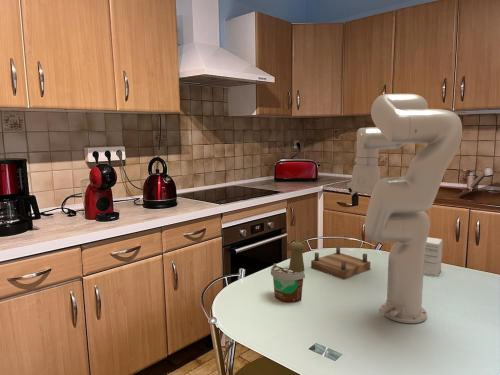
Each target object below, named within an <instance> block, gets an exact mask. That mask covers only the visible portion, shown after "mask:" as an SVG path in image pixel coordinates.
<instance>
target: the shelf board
mask: <svg viewBox="0 0 500 375" xmlns="http://www.w3.org/2000/svg"><path fill="white" fill-rule="evenodd" d="M335 249H336V250H335V252H333V253H331V254H328V255H325V256H321V257H320V252H314V259H311V261H310V264H311V265H310V267H311V269H313V270H316V271H319V272H322V273H325V274H327V275H330V276H333V277H336V278H338V279H341V280H346V279H349V278H351V277H354V276H357V275H360V274H362V273H365V272H367V271H369V270H371V261H369V260H368V253H363V254H362V258H360V257H359V258H358V257H356V256H355V257H354V256H352V255H348V254H346V253H345V254H344V253H342V252H341V246H340V245H336V248H335Z"/></svg>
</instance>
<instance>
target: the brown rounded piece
mask: <svg viewBox="0 0 500 375" xmlns="http://www.w3.org/2000/svg"><path fill="white" fill-rule="evenodd" d="M289 250H290V251H291V253H290V259H289V267H288V269H291V270H293V271H295V272H302V271H304V272H305V263H304V262H305V261H304V255H303V251H304V244H303V243H302V242H301V241H292V242H291V243H290V244H289Z"/></svg>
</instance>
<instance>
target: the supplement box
mask: <svg viewBox="0 0 500 375" xmlns="http://www.w3.org/2000/svg"><path fill="white" fill-rule="evenodd" d="M443 242H444V241H443V239H442V238H437V237H436V238H435V237H430V236H428V237H427V241H426V246H425V255H424V271H423V276H424V275H425V276H430V277H435V278H437V277H439V275H440V273H441V271H442V260H443V259H442V256H443Z"/></svg>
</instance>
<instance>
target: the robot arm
mask: <svg viewBox="0 0 500 375" xmlns="http://www.w3.org/2000/svg"><path fill="white" fill-rule="evenodd" d="M370 112H371V113H370V114H371V115H370V116H371V119H372V121H373V123H374V125H375V126H374V127H373V126H369V127H360V128H359V129H357V131H356V132H357V133H356V157H355V158H354V162H355V163H356V164H354V165H353V170H352V173H351V174H352V175H351V181H348V182H347V183H346V187H347V190H348V192H349V196H351V207H357V206H359V198H360V197H359V194H365V195H371V196H370V199H369V202H368V206H367V210H366V215H365V220H364V234H365V235H366V237H367V239H368V240H370V241H371V242H375V243H393V245H392V246H391V248H390V251H389V254H388V263H387V264H388V265H387V287H386V289H387V293H386V300H385V302H384V303H383V304H381V306H380V309H379V310H378V311H379V314H380V316H384V317H386V318H388V319H389V320H391V321H395V322H398V323H403V324H420V323H423V322H424V321H426V320H427V318H428V312H427V310H426V309H425V308H424V307H422V304H423V287H424V286H423V285H424V274H423V271H424V255H425V246H426V241H427V237H429V232H430V229H431V221H430V217H429V214H427V212H425V211H427V210H429V209H431V208H432V206H433V204H434V202H435V199H436V198H437V195H438V192H439V189H440V187H441V183H442V181H443V178H444V176H445V173H446V170H447V169H448V167H449V165H450V164H451V162H452V160H453V159H454V157H455V156H456V154H457V152H458V151H459V149H460V146H461V144H462V143H461V142H462V138H463V123H462V121H461V119H460V116H459V115H458V114H457V113H455V112H454V111H452V110H448V109H441V108H429V105H428V102H427V101H426V99H425V98H424V97H423V96H421V95H419V94H415V93H384V94H381V95H378V97H377V98H376V99H375V100H374V101H373V103H372V105H371V110H370ZM405 144H427V145H425V146H424V147H423V148H422V149H421V150H420V151H419V152H417V153H416V155H414V157H413V158H412V159H411V160H410V162H409V165H408V169H407V172H406V173H405V175H403V176H389V177H388V176H387V177H382V178H381V170H380V166H378V165H379V163H378V162H379V150H395V149H399V148H400V147H402V146H403V145H405Z"/></svg>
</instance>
